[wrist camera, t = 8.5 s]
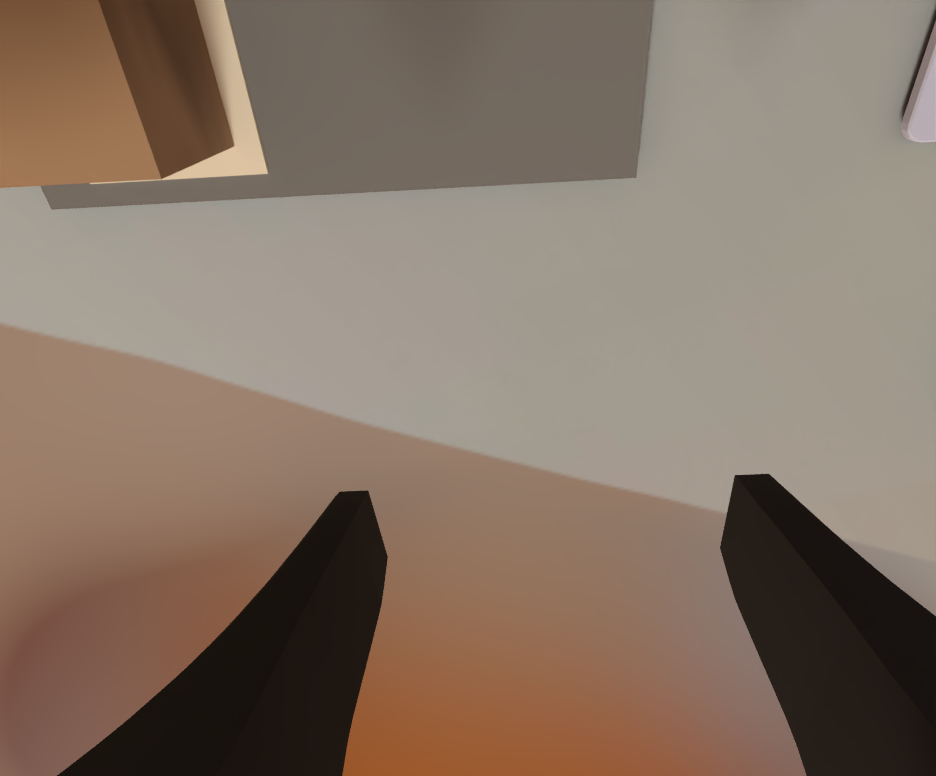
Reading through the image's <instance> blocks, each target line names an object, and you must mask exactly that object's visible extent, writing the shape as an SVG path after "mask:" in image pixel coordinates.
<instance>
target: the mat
mask: <svg viewBox="0 0 936 776" xmlns="http://www.w3.org/2000/svg"><path fill="white" fill-rule="evenodd" d="M194 1H195V5H196V8H197V12H198V16H199V19H200V23H201V27H202V30H203V34H204V37H205V41H206V45H207V48H208V52H209V56H210V59H211V63H212V67H213V70H214V74H215V77H216V81H217V85H218V88H219V92H220V96H221V99H222V103H223V107H224V110H225V114H226V117H227V121H228V125H229V128H230V132H231V136H232V139H233V143H234V147H232V148H230V149H228V150H225V151H223V152H221V153H219V154H216V155H214V156H212V157H210V158H208V159H205V160H203V161H201V162H199V163H197V164H194V165H192V166H190V167H188V168H185V169H183V170H181V171H179V172H177V173H174V174H172V175H170V176H168V177H165V178H163V179H157V180H138V181H119V182H100V183H81V184H62V185H43V186H41V188H42V190H43V192H44V194H45V196H46V199H47V201H48V203H49V205H50V207H51V209H69V208H87V207H106V206H124V205H142V204H161V203H179V202H198V201H216V200H234V199H253V198H271V197H289V196H308V195H326V194H345V193H363V192H381V191H400V190H418V189H436V188H455V187H473V186H492V185H510V184H528V183H547V182H565V181H584V180H602V179H620V178H636V173H637V163H638V153H639V143H640V133H641V122H642V112H643V102H644V92H645V81H646V71H647V61H648V51H649V40H650V30H651V20H652V10H653V0H194Z"/></svg>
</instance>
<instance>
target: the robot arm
mask: <svg viewBox="0 0 936 776" xmlns="http://www.w3.org/2000/svg"><path fill="white" fill-rule="evenodd" d="M901 131H902V134H903V136H904V137H905V138H907V139H908V140H911V141H915V142H936V22H935V25H934V28H933V30H932V33H931V36H930V39H929V42H928V45H927V48H926V51H925V54H924V57H923V60H922V63H921V66H920V69H919V72H918V75H917V78H916V81H915V84H914V87H913V90H912V93H911V96H910V99H909V102H908V105H907V108H906V111H905V114H904V117H903V120H902V125H901ZM720 549H721V553H722V556H723V560H724V563H725V567H726V570H727V574H728V577H729V581H730V584H731V587H732V590H733V594H734V597H735V600H736V602H737V605H738V607H739V610H740V612H741V614H742V617H743V619H744V621H745V624H746V626H747V628H748V631H749V633H750V635H751V638H752V640H753V642H754V645H755V647H756V649H757V651H758V654H759V656H760V659H761V661H762V663H763V666H764V668H765V670H766V672H767V675H768V677H769V679H770V682H771V684H772V686H773V688H774V691H775V693H776V696H777V698H778V700H779V703H780V705H781V707H782V710H783V712H784V714H785V716H786V719H787V721H788V724H789V727H790V729H791V732H792V734H793V737H794V740H795V742H796V745H797V747H798V750H799V753H800V757H801V760H802V762H803V766H804V768H805V772H806V775H807V776H936V616H935V615H933V614H932V613H931V612H929V611H928V610H927V609H926V608H924V607H923V606H922V605H920V604H919V603H918V602H917V601H915V600H914V599H913V598H911V597H910V596H909V595H908V594H906V593H905V592H904V591H903V590H901V589H900V588H899V587H897V586H896V585H895V584H894V583H892V582H891V581H890V580H889V579H887V578H886V577H885V576H884V575H883V574H881V573H880V572H879V571H878V570H876V569H875V568H874V567H873V566H872V565H871V564H870V563H868V562H867V561H866V560H865V559H864V558H862V557H861V556H860V555H859V554H858V553H857V552H855V551H854V550H853V549H852V548H851V547H850V546H848V545H847V544H846V543H845V542H844V541H843V540H842V539H840V538H839V537H838V536H837V535H836V534H835V533H834V532H832V531H831V530H830V529H829V528H828V527H827V526H826V525H825V524H824V523H822V522H821V521H820V520H819V519H818V518H817V517H816V516H815V515H814V514H812V513H811V512H810V511H809V510H808V509H807V508H806V507H805V506H804V505H803V504H801V503H800V502H799V501H798V500H797V499H796V498H795V497H794V496H793V495H792V494H790V493H789V492H788V491H787V490H786V489H785V488H784V487H783V486H782V485H781V484H779V483H778V482H777V481H776V480H775V479H774V478H773V477H772V476H771V475H769V474H755V475H735V478H734V482H733V487H732V492H731V497H730V502H729V507H728V512H727V517H726V522H725V527H724V531H723V537H722V541H721V546H720ZM387 558H388V557H387V553H386V550H385V546H384V543H383V540H382V536H381V533H380V529H379V526H378V523H377V519H376V516H375V512H374V509H373V505H372V502H371V498H370V495H369V492H368V491H346V492H339V493H338V494H337V496H335V498H334V499H333V500H332V502H331V503H330V504H329V505H328V507H327V508H326V509H325V511H324V512H323V513H322V515H321V516H320V517H319V519H318V520H317V521H316V522H315V524H314V525H313V526H312V528H311V529H310V530H309V531H308V533H307V534H306V535H305V537H304V538H303V539H302V541H301V542H300V543H299V544H298V546H297V547H296V548H295V549H294V550H293V552H292V553H291V554H290V555H289V557H288V558H287V559H286V560H285V561H284V563H283V564H282V565H281V566H280V568H279V569H278V570H277V571H276V573H275V574H274V575H273V576H272V577H271V579H270V580H269V581H268V582H267V583H266V584H265V586H264V587H263V588H262V589H261V590H260V591H259V592H258V593H257V595H256V596H255V597H254V598H253V599H252V600H251V601H250V602H249V604H248V605H247V606H246V607H245V608H244V609H243V610H242V612H241V613H240V614H239V615H238V616H237V617H236V618H235V619H234V620H233V621H232V623H230V625H229V626H228V627H227V628H226V629H225V630H224V631H223V632H222V633H221V634H220V635H219V636H218V637H217V638H216V639H215V640H214V641H213V642H212V643H211V644H210V645H209V646H208V647H207V648H206V649H205V650H204V651H203V652H202V653H201V654H200V655H199V656H198V657H197V658H196V659H195V660H194V661H193V662H192V663H191V664H190V665H189V666H188V667H187V668H186V669H185V670H184V671H182V672H181V673H180V674H179V675H178V676H177V677H176V678H175V679H174V680H173V681H171V682H170V683H169V684H168V685H167V686H166V687H165V688H164V689H162V690H161V691H160V692H159V693H158V694H157V695H156V696H154V697H153V698H152V699H151V700H150V701H149V702H148V703H146V705H144V706H143V707H142V708H141V709H140V710H139V711H137V712H136V713H135V714H134V715H133V716H132V717H131V718H129V719H128V720H127V721H126V722H125V723H123V725H121V726H120V727H118V728H117V729H116V730H115V731H114V732H112V733H111V734H110V735H109V736H107V737H106V738H105V739H104V740H102V741H101V742H100V743H99V744H97V745H96V746H95V747H94V748H92V749H91V750H90V751H89V752H87V753H86V754H85V755H83V756H82V757H81V758H79V759H78V760H77V761H76V762H74V763H73V764H72V765H71V766H69V767H68V768H67V769H65V770H64V771H63V772H61V773H60V774H59V775H57V776H342V773H343V767H344V761H345V755H346V748H347V743H348V737H349V733H350V728H351V724H352V719H353V714H354V711H355V707H356V703H357V699H358V695H359V691H360V687H361V683H362V679H363V676H364V672H365V668H366V663H367V660H368V656H369V652H370V648H371V644H372V640H373V636H374V632H375V628H376V624H377V620H378V616H379V612H380V608H381V603H382V596H383V589H384V581H385V574H386V566H387Z"/></svg>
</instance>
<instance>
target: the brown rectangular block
mask: <svg viewBox="0 0 936 776" xmlns="http://www.w3.org/2000/svg"><path fill="white" fill-rule="evenodd" d="M232 147H234V143H233V139H232V136H231V132H230V128H229V125H228V121H227V117H226V114H225V110H224V107H223V103H222V99H221V96H220V92H219V88H218V85H217V81H216V77H215V74H214V70H213V67H212V63H211V59H210V56H209V52H208V48H207V45H206V41H205V37H204V34H203V30H202V27H201V23H200V19H199V16H198V12H197V8H196V5H195V1H194V0H0V188H5V187H24V186H43V185H62V184H81V183H100V182H119V181H138V180H157V179H163V178H165V177H168V176H170V175H172V174H174V173H177V172H179V171H181V170H183V169H185V168H188V167H190V166H192V165H194V164H197V163H199V162H201V161H203V160H205V159H208V158H210V157H212V156H214V155H216V154H219V153H221V152H223V151H225V150H228V149H230V148H232Z"/></svg>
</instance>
